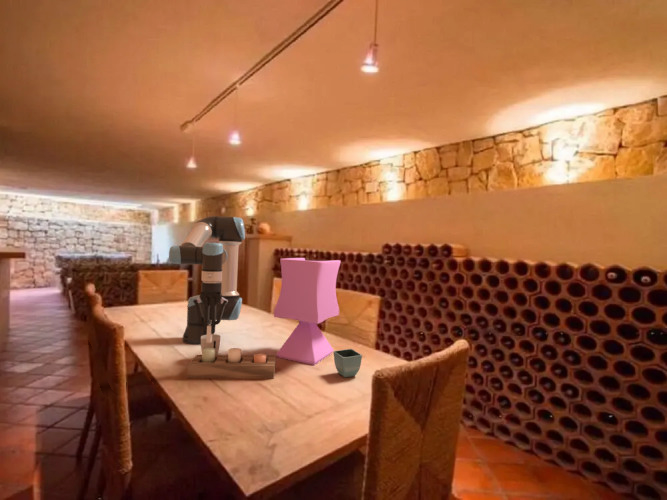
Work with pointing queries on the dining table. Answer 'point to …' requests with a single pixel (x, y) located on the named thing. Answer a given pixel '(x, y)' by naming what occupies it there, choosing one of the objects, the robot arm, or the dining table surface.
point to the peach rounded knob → (234, 355)
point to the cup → (213, 344)
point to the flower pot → (347, 362)
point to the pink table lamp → (307, 307)
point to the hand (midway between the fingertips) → (209, 341)
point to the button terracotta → (260, 358)
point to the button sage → (208, 355)
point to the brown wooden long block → (232, 368)
